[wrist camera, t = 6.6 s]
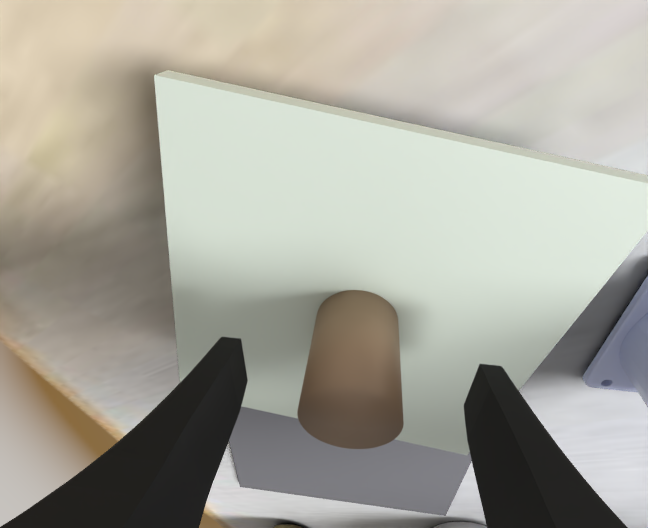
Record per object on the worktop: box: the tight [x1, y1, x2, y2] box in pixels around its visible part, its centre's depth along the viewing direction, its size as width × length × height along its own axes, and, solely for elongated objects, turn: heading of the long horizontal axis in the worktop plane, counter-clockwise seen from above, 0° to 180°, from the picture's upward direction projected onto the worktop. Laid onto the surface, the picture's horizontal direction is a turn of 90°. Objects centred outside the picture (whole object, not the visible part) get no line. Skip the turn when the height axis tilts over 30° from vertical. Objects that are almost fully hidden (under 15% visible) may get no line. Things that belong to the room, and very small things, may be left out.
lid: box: [154, 70, 648, 455], centre depth 13 cm, size 14×14×5 cm
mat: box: [229, 406, 472, 516], centre depth 26 cm, size 17×17×1 cm
